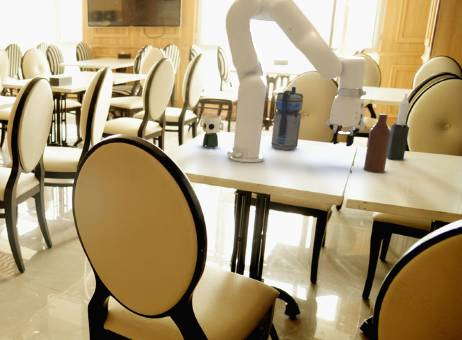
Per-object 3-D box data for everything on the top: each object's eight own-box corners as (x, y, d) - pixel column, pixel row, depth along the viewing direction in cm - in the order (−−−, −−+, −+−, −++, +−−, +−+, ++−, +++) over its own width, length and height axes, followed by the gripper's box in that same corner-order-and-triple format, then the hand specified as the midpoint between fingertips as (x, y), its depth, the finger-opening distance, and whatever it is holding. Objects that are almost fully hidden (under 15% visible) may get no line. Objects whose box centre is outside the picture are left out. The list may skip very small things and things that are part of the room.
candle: (389, 159, 198) (401, 94, 191) (385, 156, 202) (396, 92, 196) (404, 160, 196) (416, 95, 190) (399, 157, 201) (411, 93, 194)
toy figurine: (194, 146, 215) (196, 115, 211) (203, 144, 220) (205, 113, 216) (217, 151, 207) (219, 119, 204) (226, 148, 212) (228, 117, 209)
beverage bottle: (265, 149, 211) (272, 88, 205) (275, 144, 222) (282, 85, 215) (291, 153, 205) (299, 90, 199) (300, 147, 216) (307, 87, 209)
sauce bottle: (383, 173, 178) (394, 116, 173) (363, 170, 181) (372, 114, 176) (384, 169, 183) (394, 113, 178) (364, 166, 186) (373, 112, 181)
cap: (350, 141, 183) (351, 132, 182) (347, 143, 180) (348, 134, 179) (338, 139, 186) (339, 131, 185) (335, 141, 183) (336, 133, 182)
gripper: (379, 94, 175) (371, 147, 180) (330, 90, 187) (324, 139, 192) (370, 96, 170) (362, 150, 175) (320, 92, 182) (314, 142, 187)
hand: (342, 144), depth 183 cm, fingers closed on cap, 3 cm apart
